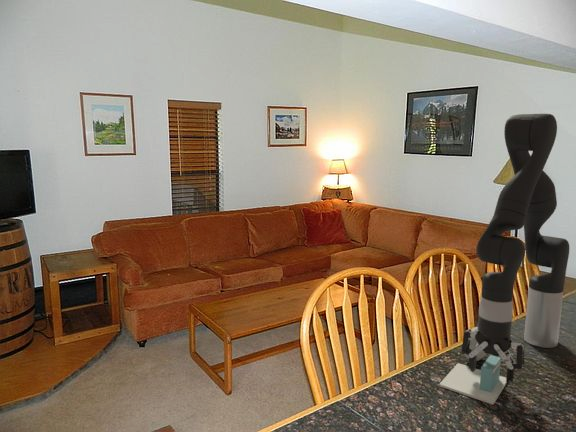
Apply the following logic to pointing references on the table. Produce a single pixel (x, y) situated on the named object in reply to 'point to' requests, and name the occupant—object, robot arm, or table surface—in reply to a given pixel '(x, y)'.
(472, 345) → the donut
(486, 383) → the box
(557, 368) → the table surface
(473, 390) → the mat
